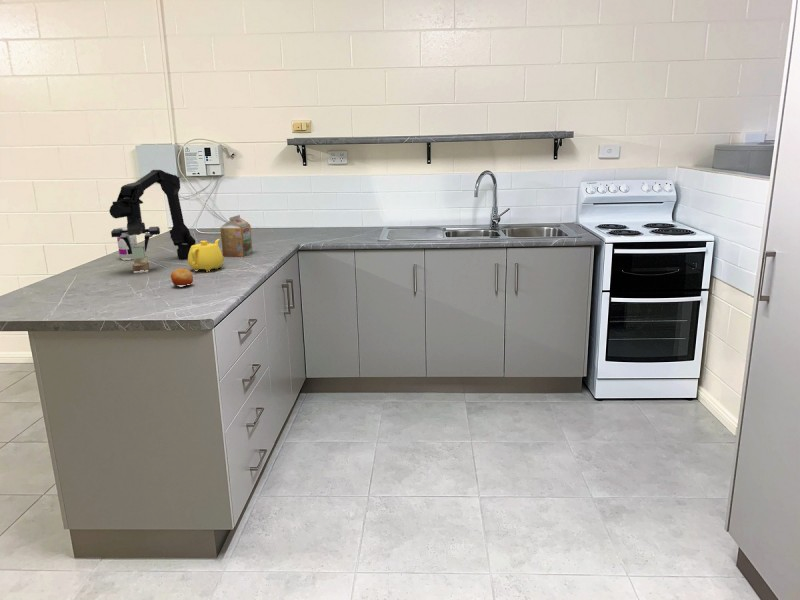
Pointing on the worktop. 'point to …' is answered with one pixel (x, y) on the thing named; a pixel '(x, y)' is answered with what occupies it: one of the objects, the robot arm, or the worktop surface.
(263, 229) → the worktop surface
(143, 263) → the maple block
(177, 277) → the fruit
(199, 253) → the teapot
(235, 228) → the milk carton
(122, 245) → the supplement can
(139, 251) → the sage cube
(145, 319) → the worktop surface
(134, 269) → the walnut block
